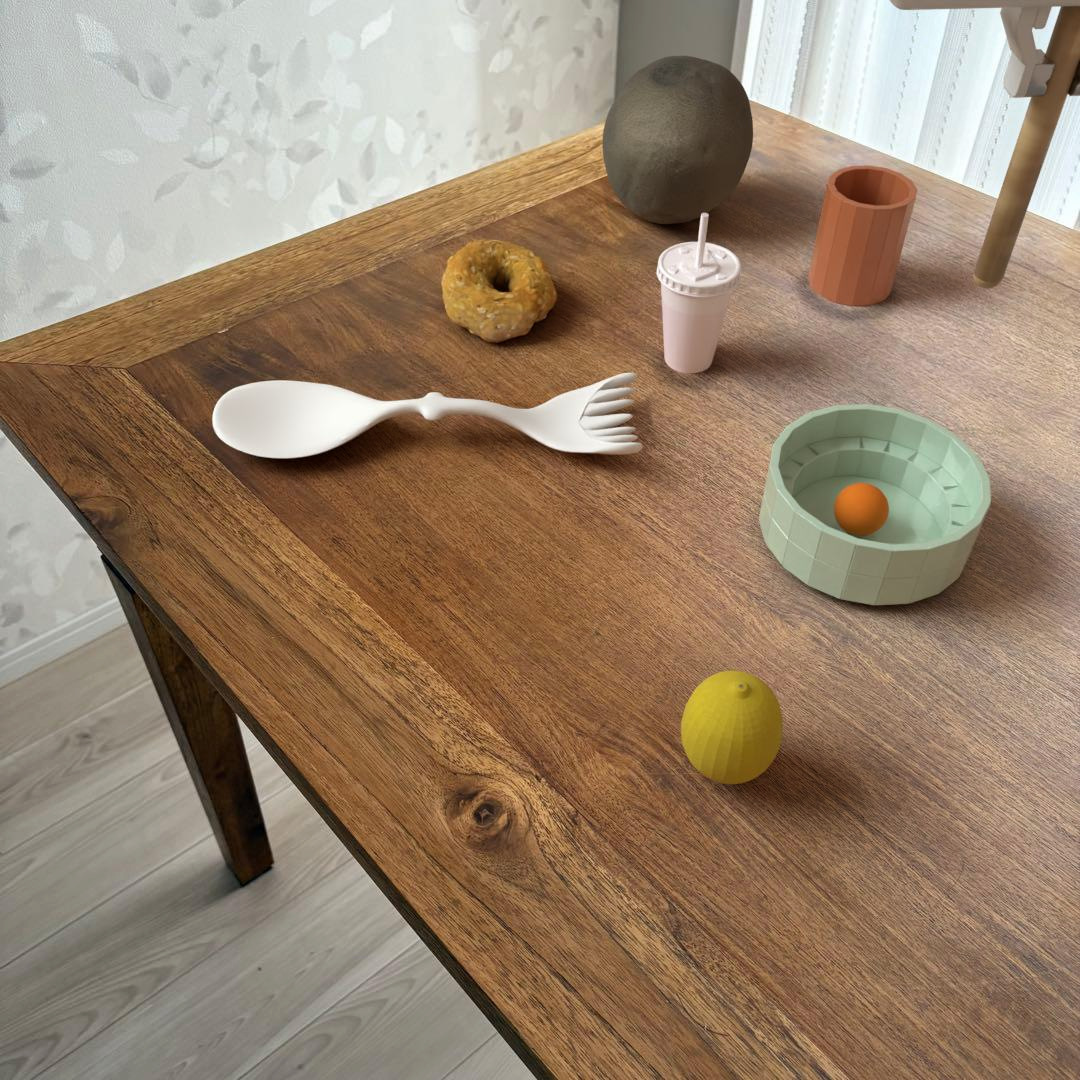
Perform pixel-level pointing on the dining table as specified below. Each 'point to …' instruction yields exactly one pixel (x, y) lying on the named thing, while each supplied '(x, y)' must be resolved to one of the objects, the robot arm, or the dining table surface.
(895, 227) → the crock
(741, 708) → the lemon
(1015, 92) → the robot arm
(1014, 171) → the stick
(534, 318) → the bagel
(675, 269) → the smoothie
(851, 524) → the ball
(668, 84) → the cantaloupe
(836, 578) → the bowl
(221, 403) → the spoon
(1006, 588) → the dining table surface
